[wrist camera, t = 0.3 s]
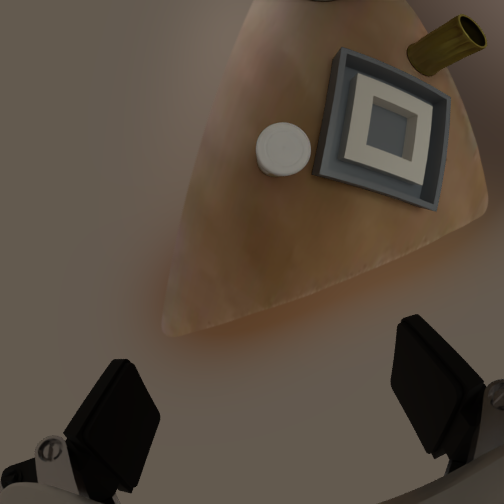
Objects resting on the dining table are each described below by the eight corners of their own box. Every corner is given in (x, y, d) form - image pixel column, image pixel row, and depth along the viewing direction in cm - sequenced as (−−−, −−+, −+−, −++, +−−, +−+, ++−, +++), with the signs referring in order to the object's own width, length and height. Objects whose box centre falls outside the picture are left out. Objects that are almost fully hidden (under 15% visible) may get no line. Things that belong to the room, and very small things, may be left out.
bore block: (350, 80, 30) (357, 72, 27) (421, 110, 30) (432, 106, 27) (337, 159, 33) (344, 157, 30) (411, 184, 33) (422, 185, 30)
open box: (332, 59, 29) (341, 46, 25) (434, 102, 30) (450, 97, 26) (311, 174, 34) (319, 174, 30) (419, 207, 35) (436, 211, 30)
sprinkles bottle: (289, 178, 34) (309, 178, 21) (254, 175, 34) (253, 173, 21) (292, 144, 33) (314, 125, 20) (257, 140, 33) (257, 118, 20)
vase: (441, 66, 28) (493, 43, 14) (426, 82, 29) (482, 58, 15) (417, 39, 27) (463, 6, 13) (400, 53, 28) (449, 17, 14)
